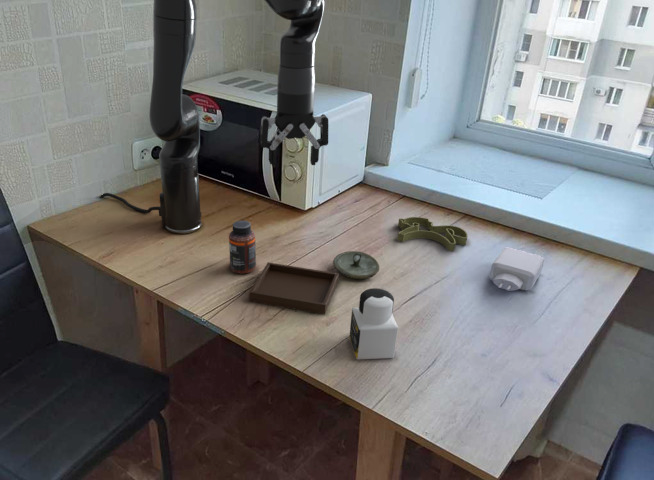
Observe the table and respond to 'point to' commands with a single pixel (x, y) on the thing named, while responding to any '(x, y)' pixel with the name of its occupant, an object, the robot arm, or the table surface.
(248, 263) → the supplement bottle
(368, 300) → the medicine bottle
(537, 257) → the charger
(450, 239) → the cookie cutter
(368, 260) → the antique brass shank button
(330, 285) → the tray
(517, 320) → the table surface
